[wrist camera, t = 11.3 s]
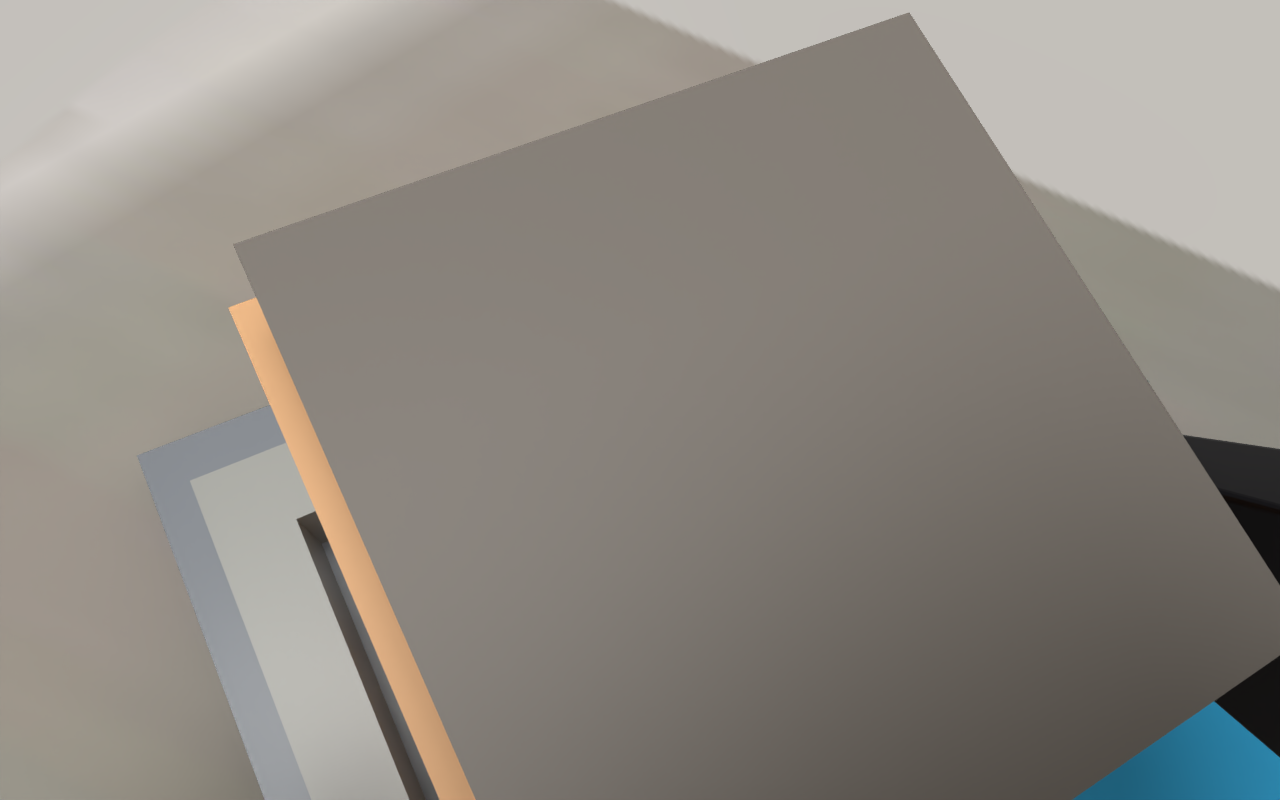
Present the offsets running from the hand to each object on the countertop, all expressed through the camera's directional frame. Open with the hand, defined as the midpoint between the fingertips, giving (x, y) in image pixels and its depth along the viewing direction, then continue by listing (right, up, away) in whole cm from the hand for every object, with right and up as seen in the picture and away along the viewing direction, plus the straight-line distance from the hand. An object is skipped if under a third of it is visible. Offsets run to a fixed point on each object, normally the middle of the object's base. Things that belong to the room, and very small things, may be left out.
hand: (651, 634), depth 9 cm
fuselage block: (-2, -2, +7) cm, 8 cm away
